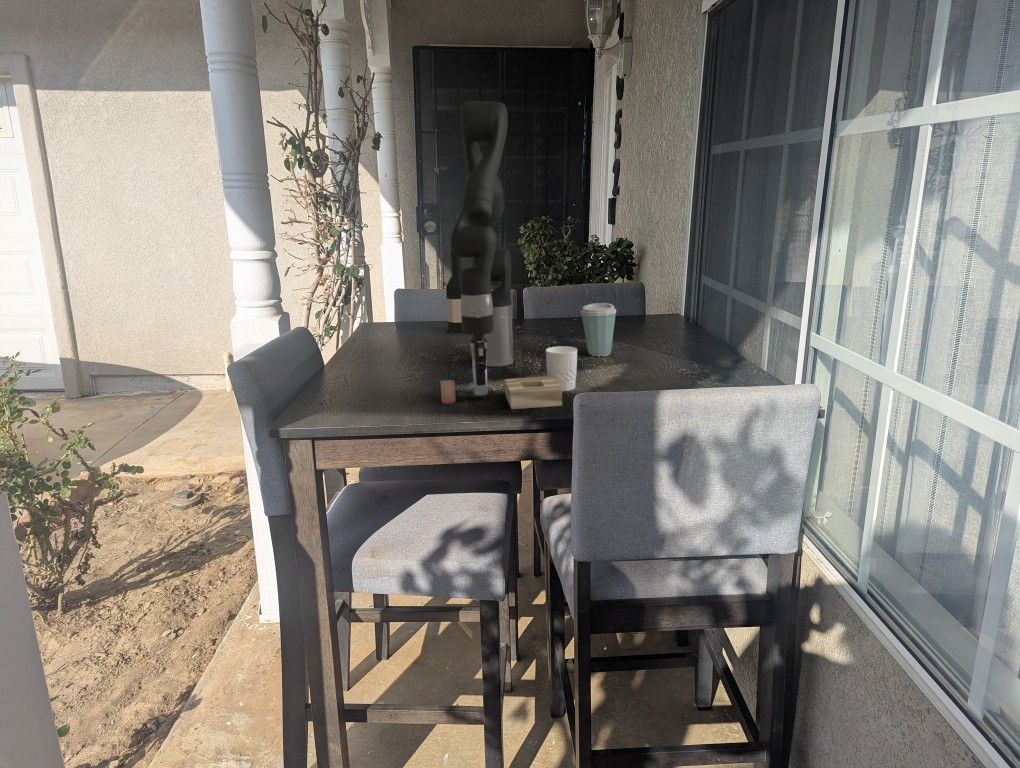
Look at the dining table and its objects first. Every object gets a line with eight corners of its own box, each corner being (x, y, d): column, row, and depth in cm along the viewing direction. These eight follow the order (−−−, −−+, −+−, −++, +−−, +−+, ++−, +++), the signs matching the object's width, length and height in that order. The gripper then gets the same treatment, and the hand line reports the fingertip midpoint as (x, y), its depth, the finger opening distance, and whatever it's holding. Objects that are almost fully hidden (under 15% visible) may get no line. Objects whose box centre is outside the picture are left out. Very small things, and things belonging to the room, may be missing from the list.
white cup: (575, 383, 185) (575, 345, 182) (579, 391, 177) (579, 352, 174) (545, 384, 184) (544, 346, 182) (548, 393, 177) (547, 353, 174)
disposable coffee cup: (615, 358, 209) (615, 308, 205) (578, 358, 211) (578, 308, 208) (617, 350, 219) (617, 302, 215) (582, 350, 221) (582, 302, 218)
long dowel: (473, 391, 175) (471, 352, 172) (487, 390, 175) (485, 351, 173) (474, 395, 172) (472, 355, 169) (488, 394, 172) (486, 354, 169)
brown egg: (441, 400, 174) (440, 380, 173) (455, 399, 174) (454, 379, 173) (441, 403, 171) (440, 383, 170) (456, 402, 171) (454, 382, 170)
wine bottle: (446, 331, 261) (441, 247, 253) (468, 328, 263) (464, 246, 255) (451, 335, 253) (446, 249, 245) (473, 332, 255) (469, 248, 247)
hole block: (504, 395, 176) (504, 379, 175) (552, 391, 178) (552, 376, 176) (511, 409, 165) (510, 392, 164) (562, 405, 166) (561, 389, 165)
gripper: (459, 308, 174) (463, 376, 179) (463, 318, 161) (466, 392, 166) (489, 306, 175) (492, 374, 180) (496, 317, 162) (498, 389, 166)
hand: (480, 382), depth 173 cm, fingers closed on long dowel, 3 cm apart
